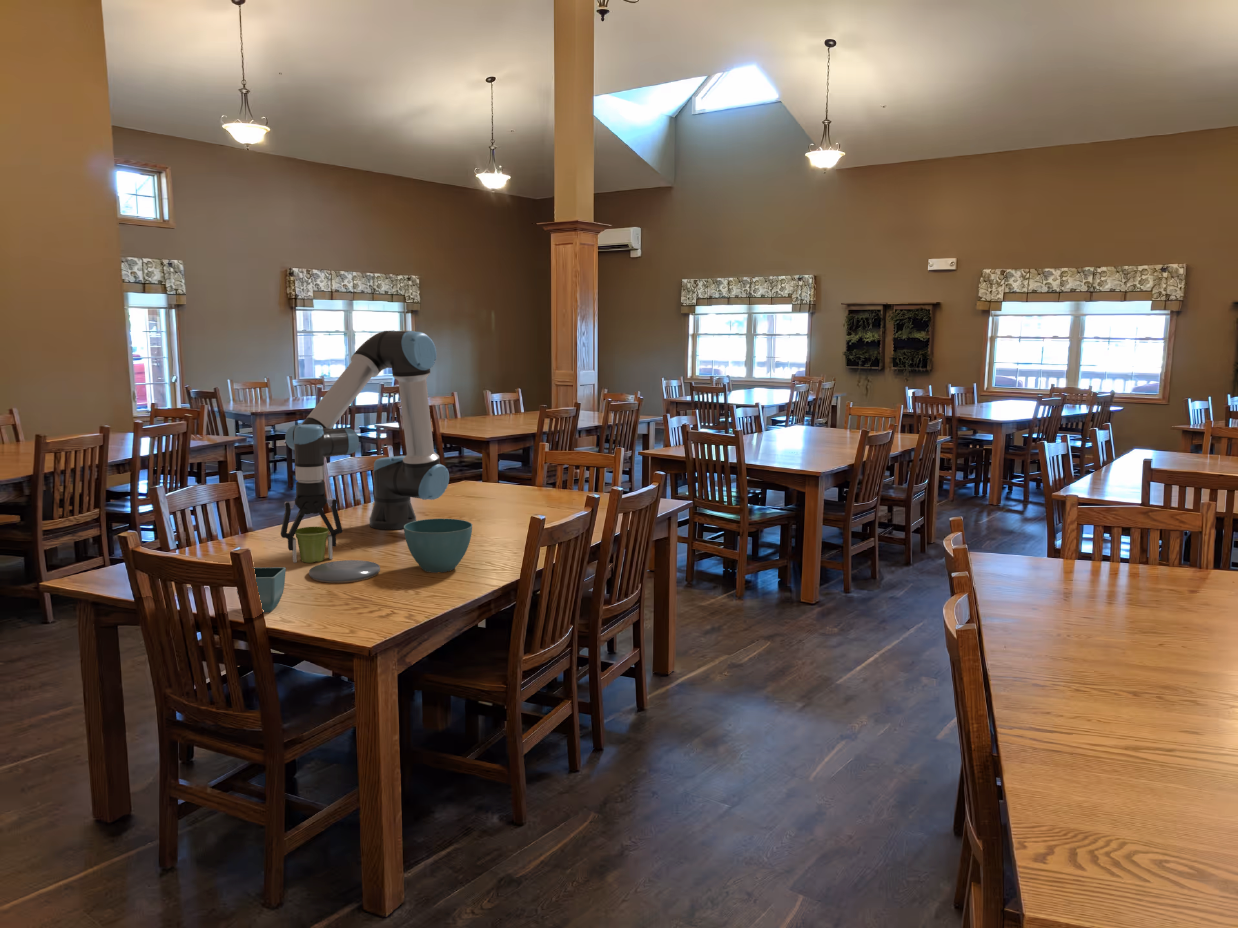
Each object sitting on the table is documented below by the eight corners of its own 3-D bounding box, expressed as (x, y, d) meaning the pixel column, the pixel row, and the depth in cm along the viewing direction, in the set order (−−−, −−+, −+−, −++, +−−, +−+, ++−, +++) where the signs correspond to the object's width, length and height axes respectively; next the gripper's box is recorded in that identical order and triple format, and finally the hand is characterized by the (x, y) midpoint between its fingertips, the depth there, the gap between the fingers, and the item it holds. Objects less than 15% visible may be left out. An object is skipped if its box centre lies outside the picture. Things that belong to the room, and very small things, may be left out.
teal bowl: (394, 566, 230) (393, 522, 229) (454, 556, 241) (453, 515, 239) (421, 582, 216) (421, 535, 214) (484, 571, 227) (484, 527, 225)
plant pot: (336, 556, 239) (335, 527, 237) (321, 565, 229) (320, 534, 228) (304, 555, 240) (303, 525, 238) (288, 563, 230) (287, 533, 229)
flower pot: (249, 603, 196) (247, 566, 195) (287, 603, 197) (286, 566, 195) (235, 616, 187) (233, 577, 186) (276, 615, 188) (274, 577, 187)
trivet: (372, 561, 234) (372, 557, 234) (386, 578, 218) (386, 574, 218) (305, 568, 226) (304, 564, 226) (313, 586, 210) (313, 581, 210)
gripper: (348, 476, 239) (350, 552, 243) (266, 480, 229) (270, 560, 233) (352, 480, 233) (354, 558, 236) (269, 485, 223) (272, 566, 226)
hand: (312, 559), depth 234 cm, fingers open, 9 cm apart
